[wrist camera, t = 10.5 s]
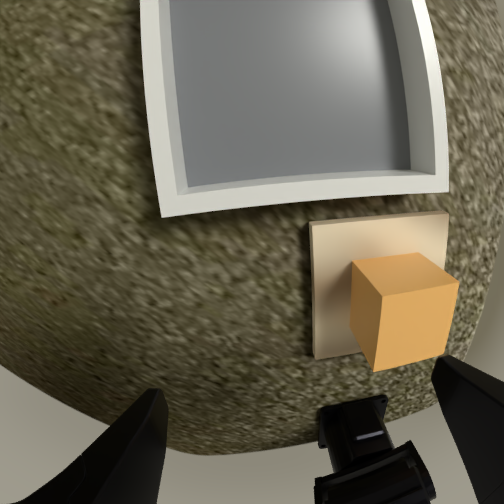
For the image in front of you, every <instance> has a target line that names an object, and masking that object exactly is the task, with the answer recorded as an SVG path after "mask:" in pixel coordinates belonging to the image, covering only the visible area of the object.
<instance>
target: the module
mask: <svg viewBox="0 0 504 504" xmlns="http://www.w3.org/2000/svg"><path fill="white" fill-rule="evenodd" d="M458 287H459V281H457V280H456V279H455V278H453V277H452V276H451V275H449V274H448V273H447V272H445V271H444V270H443V269H441V268H440V267H439V266H437V265H436V264H434V263H433V262H432V261H430V260H429V259H427V258H426V257H425V256H423V255H422V254H420V253H419V252H416V253H408V254H400V255H392V256H385V257H377V258H369V259H361V260H352V282H351V309H350V329H351V331H352V333H353V334H354V336H355V338H356V340H357V342H358V344H359V346H360V348H361V350H362V352H363V353H364V355H365V357H366V359H367V361H368V363H369V365H370V367H371V369H372V371H373V372H376V371H380V370H385V369H389V368H393V367H398V366H402V365H406V364H409V363H413V362H417V361H421V360H424V359H428V358H431V357H435V356H438V355H442V354H443V353H444V350H445V346H446V342H447V338H448V334H449V330H450V326H451V322H452V317H453V313H454V308H455V303H456V298H457V293H458Z"/></svg>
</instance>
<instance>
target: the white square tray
mask: <svg viewBox="0 0 504 504" xmlns="http://www.w3.org/2000/svg"><path fill="white" fill-rule="evenodd" d="M140 20H141V44H142V61H143V75H144V88H145V99H146V109H147V118H148V127H149V136H150V144H151V152H152V159H153V166H154V173H155V180H156V186H157V193H158V199H159V205H160V211H161V217H162V218H164V217H171V216H178V215H186V214H194V213H201V212H209V211H218V210H226V209H234V208H243V207H252V206H262V205H271V204H281V203H292V202H302V201H313V200H325V199H337V198H350V197H364V196H379V195H396V194H415V193H437V192H449V161H448V137H447V123H446V111H445V102H444V93H443V86H442V79H441V72H440V66H439V60H438V55H437V50H436V45H435V40H434V35H433V31H432V27H431V23H430V19H429V15H428V11H427V7H426V4H425V0H140Z"/></svg>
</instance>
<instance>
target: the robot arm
mask: <svg viewBox="0 0 504 504" xmlns="http://www.w3.org/2000/svg"><path fill="white" fill-rule="evenodd" d="M431 380H432V384H433V386H434V389H435V392H436V395H437V398H438V401H439V404H440V407H441V410H442V413H443V415H444V418H445V420H446V422H447V424H448V427H449V429H450V431H451V433H452V436H453V438H454V441H455V443H456V445H457V448H458V450H459V453H460V455H461V458H462V460H463V463H464V465H465V468H466V470H467V473H468V476H469V478H470V481H471V483H472V486H473V489H474V492H475V495H476V498H477V500H478V503H479V504H504V382H503V381H501V380H499V379H497V378H494V377H493V376H491V375H489V374H486V373H484V372H482V371H481V370H478V369H477V368H474V367H472V366H471V365H469V364H467V363H465V362H463V361H461V360H459V359H457V358H455V357H453V356H451V355H443V356H440V357H438V358H437V360H436V363H435V365H434V368H433V371H432V374H431ZM387 403H388V397H387V396H386V395H381V396H377V397H372V398H368V399H363V400H359V401H354V402H349V403H344V404H339V405H334V406H328V407H324V408H322V409H321V410H320V422H319V437H318V446H319V448H321V449H323V448H328V452H329V455H330V460H331V464H332V468H333V472H334V473H333V474H330V475H327V476H324V477H317V478H315V486H314V499H315V504H431V503H430V501H431V500H433V499H435V498H436V492H435V488H434V485H433V482H432V479H431V477H430V474H429V472H428V470H427V468H426V466H425V464H424V463H423V461H422V459H421V457H420V455H419V454H418V452H417V450H416V448H415V446H414V445H413V443H412V441H411V440H409V441H407V442H406V443H405V444H403V445H401V446H399V447H397V448H395V447H394V445H393V443H392V440H391V438H390V436H389V434H388V431H387V429H386V427H385V424H384V422H383V418H384V414H385V411H386V407H387ZM167 425H168V405H167V402H166V400H165V397H164V394H163V391H162V390H161V389H159V388H149V389H147V390H146V391H145V392H144V393H143V394H142V395H141V396H140V397H139V398H138V399H137V400H136V401H135V402H134V403H133V404H132V405H131V406H130V407H129V408H128V409H127V410H126V411H125V412H124V413H123V414H122V415H121V416H120V417H119V418H118V419H117V420H116V421H115V422H114V423H113V424H112V425H111V426H110V427H109V428H108V429H106V430H105V432H103V433H102V434H101V435H100V436H99V437H98V438H97V439H96V440H95V441H94V442H93V443H92V444H91V445H90V446H89V447H88V448H87V449H86V450H85V451H84V452H83V453H82V454H81V455H82V456H81V455H80V456H78V457H77V458H76V459H75V461H73V462H72V463H71V464H70V465H69V466H68V467H67V468H65V469H64V470H63V471H62V472H61V473H59V474H58V475H57V476H56V477H54V478H53V479H52V480H50V481H49V482H48V483H46V484H45V485H43V486H42V487H41V488H39V489H38V490H37V491H35V492H34V493H32V494H31V495H30V496H28V497H26V498H25V499H23V500H21V501H18V502H16V503H11V504H157V498H158V492H159V486H160V481H161V475H162V470H163V465H164V459H165V453H166V440H167Z"/></svg>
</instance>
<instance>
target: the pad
mask: <svg viewBox="0 0 504 504" xmlns="http://www.w3.org/2000/svg"><path fill="white" fill-rule="evenodd" d="M448 222H449V213H446V212H444V211H442V210H440V211H427V212H414V213H401V214H389V215H377V216H365V217H354V218H343V219H333V220H322V221H312V222H309V234H310V255H311V281H312V322H313V354H314V357H315V360H317V359H324V358H330V357H336V356H342V355H347V354H353V353H358V352H362V350H361V348H360V346H359V344H358V342H357V340H356V338H355V336H354V334H353V333H352V331H351V329H350V309H351V282H352V260H361V259H369V258H377V257H385V256H392V255H400V254H408V253H416V252H419V253H420V254H422V255H423V256H425V257H426V258H427V259H429V260H430V261H432V262H433V263H434V264H436V265H437V266H439V267H440V268H441V269H443V270H444V265H445V257H446V247H447V236H448Z"/></svg>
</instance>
